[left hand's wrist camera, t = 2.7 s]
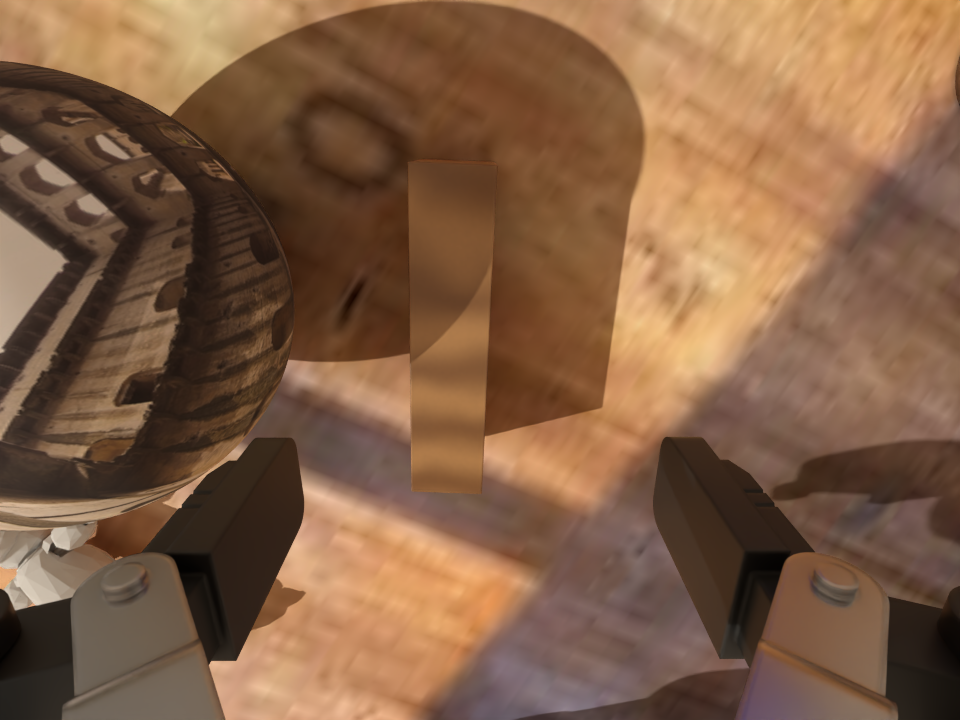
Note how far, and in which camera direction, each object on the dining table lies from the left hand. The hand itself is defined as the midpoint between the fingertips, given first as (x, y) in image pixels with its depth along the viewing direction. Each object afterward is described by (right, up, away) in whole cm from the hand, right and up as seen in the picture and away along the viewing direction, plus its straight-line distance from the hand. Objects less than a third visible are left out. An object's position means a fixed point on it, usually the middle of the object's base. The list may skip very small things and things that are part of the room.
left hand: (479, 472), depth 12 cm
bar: (-2, +6, +32) cm, 33 cm away
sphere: (-24, +10, +31) cm, 41 cm away
